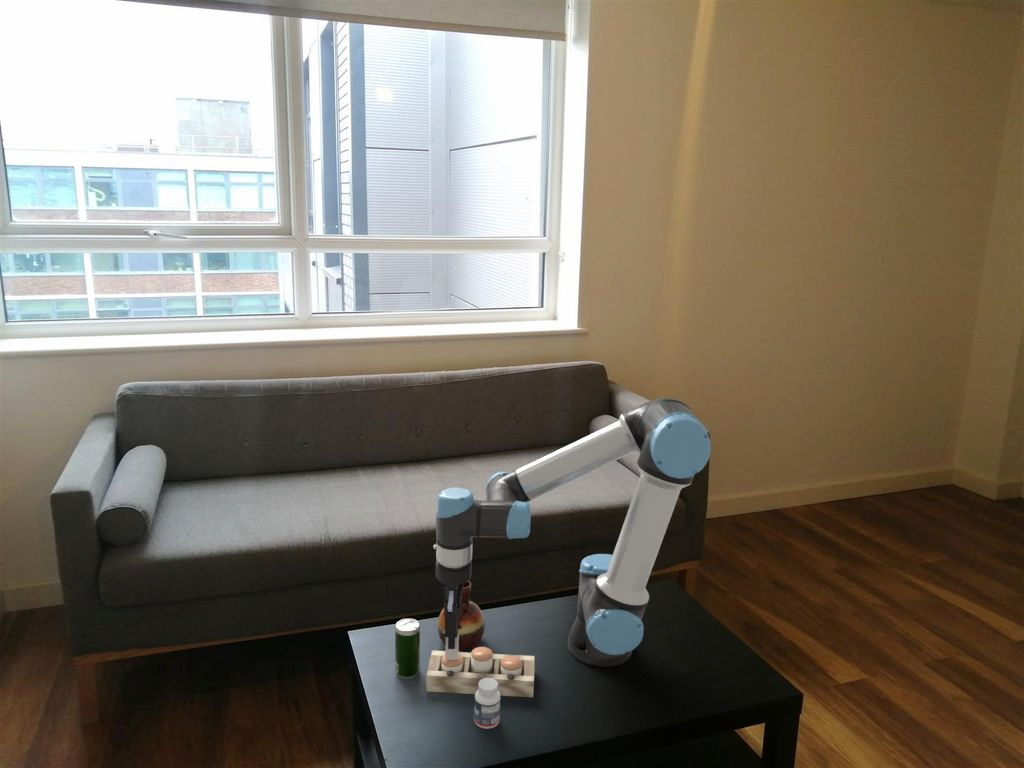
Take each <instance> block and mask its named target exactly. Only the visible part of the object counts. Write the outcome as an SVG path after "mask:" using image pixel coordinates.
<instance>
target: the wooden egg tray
mask: <svg viewBox="0 0 1024 768" xmlns="http://www.w3.org/2000/svg"><path fill="white" fill-rule="evenodd" d="M458 654H460V655H461V656H462V658H463V669H462V672H453V671H441V667H442V657H443V655H445V650H431V654H430V657H429V662H428V663H429V664H428V665H427V666H428V667H427V672H426V679H425V680H426V684H425V685H426V686H425V687H426V689H425V691H426V692H430V693H432V692H433V693H449V694H469V695H475V693H476V691H477V690H478V683H479V681H480V680H481V679H484V678H492V679H495V680H496V681H497V683H498V691H499V692H500V697H501V696H503V697H504V696H505V697H520V698H521V697H522V698H534V689H535V688H534V687H535V655H522V654H521V655H520V654H503V653H502V654H501V653H493V658H492V673H491V674H484V673H471V654H472V652H466V651H458ZM507 656H516V657H518V658H520V659H521V660H522V676H520V675H513V674H509V675H502V674H501V660H502V659H503V658H504V657H507Z"/></svg>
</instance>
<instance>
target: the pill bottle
mask: <svg viewBox="0 0 1024 768" xmlns="http://www.w3.org/2000/svg"><path fill="white" fill-rule="evenodd" d="M473 712H474V713H473V714H474V715H473V722H474V724H475V725H476V726H477V727H479V728H481V729H484V730H487V729H488V730H489V729H494V728H495V727H497V726H498V725H499V723H500V720H501V716H500V715H501V696H500V692H499V691H498V683H497V681H496V680H495V679H492V678H484V679H481V680H480V681H479V683H478V690H477V691H476V693H475V694H474V711H473Z"/></svg>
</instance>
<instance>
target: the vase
mask: <svg viewBox="0 0 1024 768" xmlns="http://www.w3.org/2000/svg"><path fill="white" fill-rule="evenodd" d="M471 588H472V583H471V581H470V580H468V581H467V582H465V583H463V590H462V599H461V604H460V621H459V625H462V629H458V630H459V649H458V652H466V651H469V650H470V651H471V649H472V650H473V649H475V648H476V646H477V645H479V644H480V642H481V640H482V638H483V636H484V633H485V626H486V624H485V623H486V622H485V621H486V620H485V616H484V613H483V611H482V610H481V608H480V607H479V606H478V604H476V603H475V602H473V601H471ZM443 630H445V612H444V607H443V608H442V610H441V612H440V614H439V615H438V620H437V631H438V635H439V638H440V640H441V642H442V644H444V646H446V637H445V635H442V633H443Z"/></svg>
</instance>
